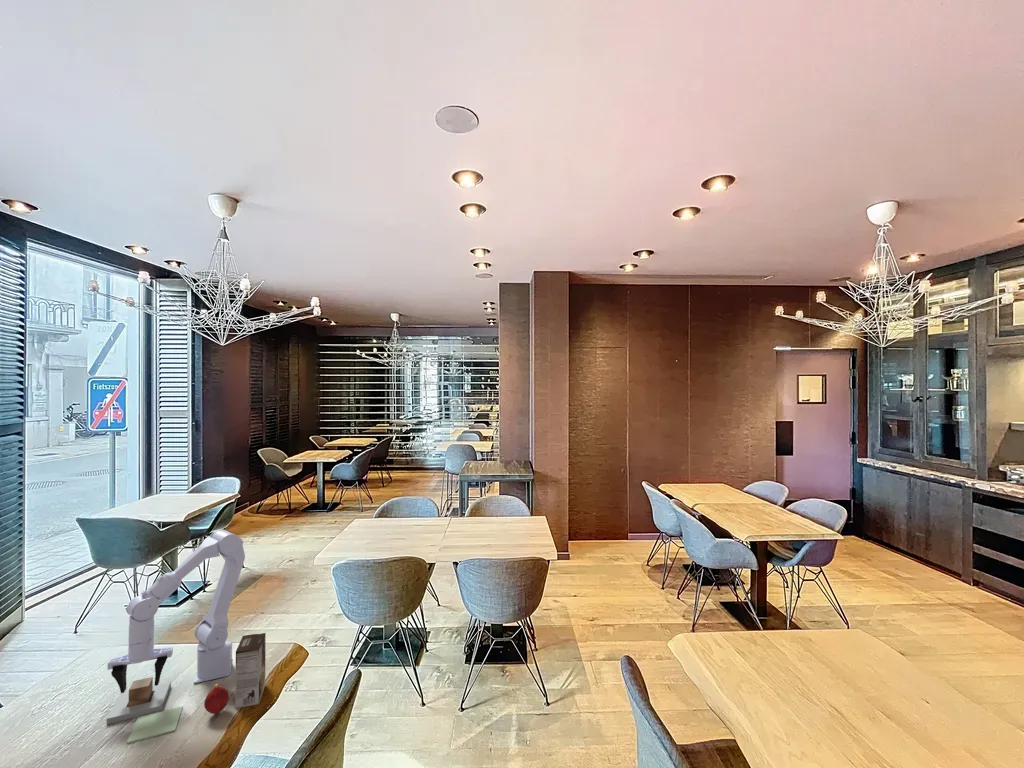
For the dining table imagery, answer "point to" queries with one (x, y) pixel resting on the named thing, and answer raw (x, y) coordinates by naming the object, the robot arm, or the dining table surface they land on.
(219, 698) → the onion
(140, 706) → the pocket board
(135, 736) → the felt mat
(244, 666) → the coffee box
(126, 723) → the dining table surface
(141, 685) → the walnut block
